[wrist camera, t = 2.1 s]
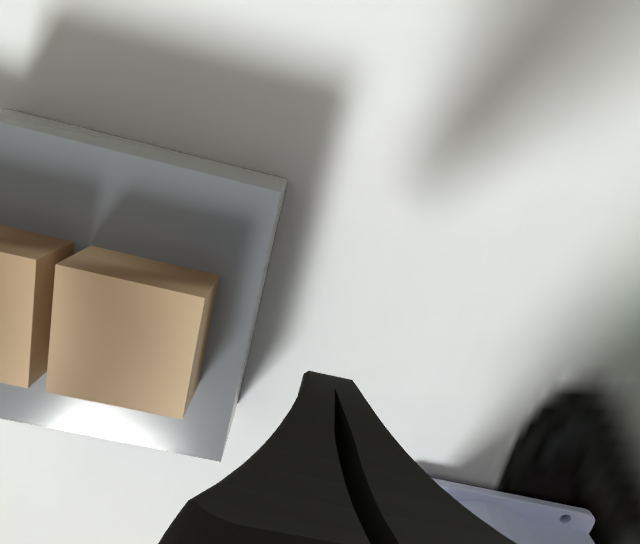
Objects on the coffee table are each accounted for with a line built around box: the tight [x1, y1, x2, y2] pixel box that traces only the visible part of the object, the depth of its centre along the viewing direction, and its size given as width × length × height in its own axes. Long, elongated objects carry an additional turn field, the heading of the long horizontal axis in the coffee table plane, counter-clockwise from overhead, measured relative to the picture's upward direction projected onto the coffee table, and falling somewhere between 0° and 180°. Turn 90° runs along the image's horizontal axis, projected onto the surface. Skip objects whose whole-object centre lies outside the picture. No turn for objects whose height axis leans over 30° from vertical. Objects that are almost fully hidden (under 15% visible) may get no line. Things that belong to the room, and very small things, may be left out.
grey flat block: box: [0, 109, 288, 462], centre depth 16 cm, size 10×10×4 cm
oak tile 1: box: [46, 246, 220, 420], centre depth 14 cm, size 4×4×2 cm
